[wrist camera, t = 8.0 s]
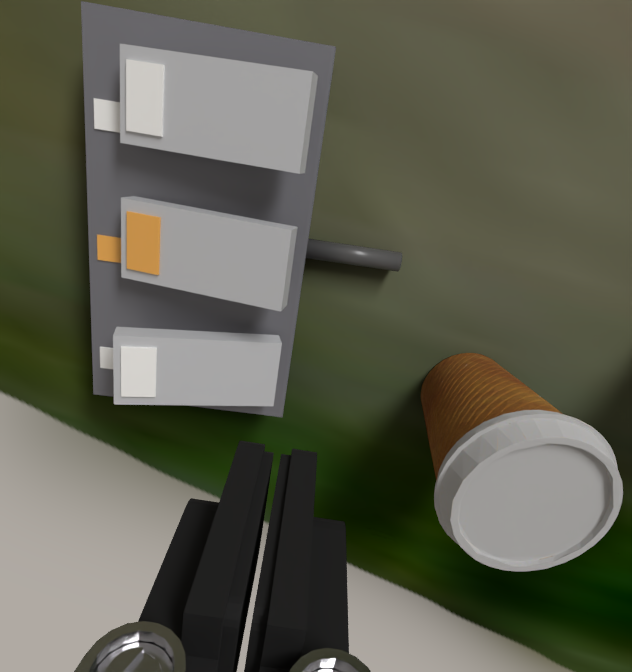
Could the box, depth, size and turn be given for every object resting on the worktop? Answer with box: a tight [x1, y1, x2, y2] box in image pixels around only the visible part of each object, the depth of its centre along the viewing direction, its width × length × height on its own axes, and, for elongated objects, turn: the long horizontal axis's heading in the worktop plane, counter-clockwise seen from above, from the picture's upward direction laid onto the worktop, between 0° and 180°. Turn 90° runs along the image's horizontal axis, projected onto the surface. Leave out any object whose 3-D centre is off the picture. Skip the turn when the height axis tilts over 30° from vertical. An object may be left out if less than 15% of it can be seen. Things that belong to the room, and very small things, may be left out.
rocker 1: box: [120, 44, 318, 174], centre depth 22 cm, size 9×4×1 cm, turn 80°
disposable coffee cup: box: [421, 353, 623, 572], centre depth 29 cm, size 10×10×12 cm
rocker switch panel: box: [81, 1, 402, 417], centre depth 28 cm, size 18×21×4 cm
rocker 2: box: [121, 196, 298, 311], centre depth 25 cm, size 9×4×1 cm, turn 80°
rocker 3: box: [113, 327, 282, 406], centre depth 27 cm, size 9×4×1 cm, turn 83°
